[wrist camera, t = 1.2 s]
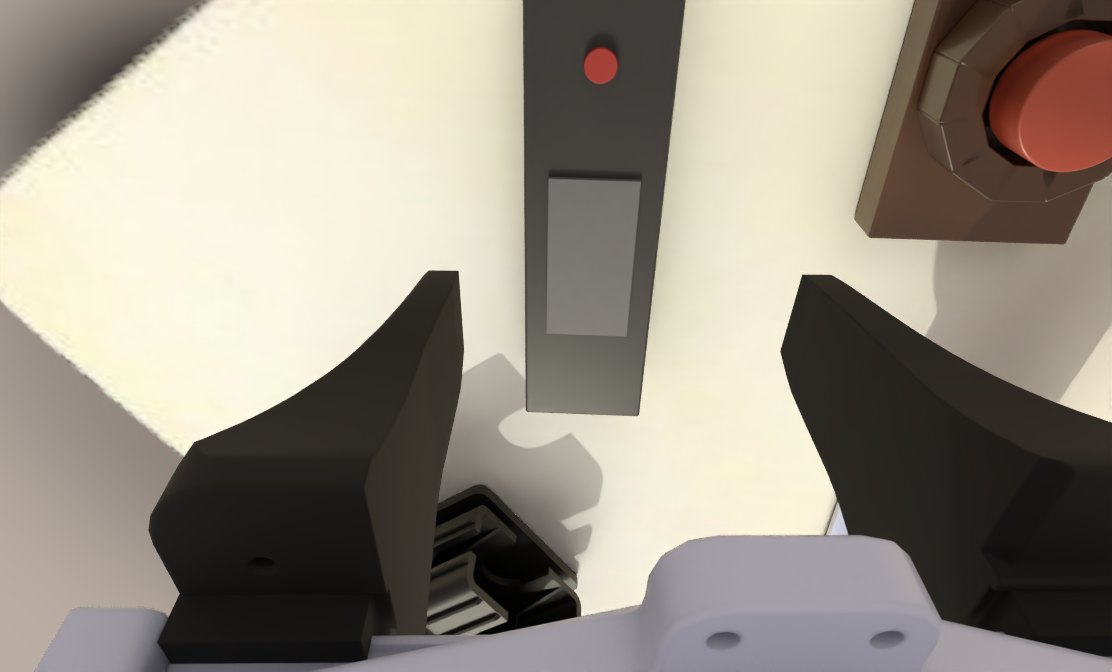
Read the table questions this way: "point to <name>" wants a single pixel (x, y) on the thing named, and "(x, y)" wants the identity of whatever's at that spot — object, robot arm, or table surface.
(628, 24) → the remote
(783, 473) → the table surface
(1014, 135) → the bell button
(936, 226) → the bell block
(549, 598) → the end cap
